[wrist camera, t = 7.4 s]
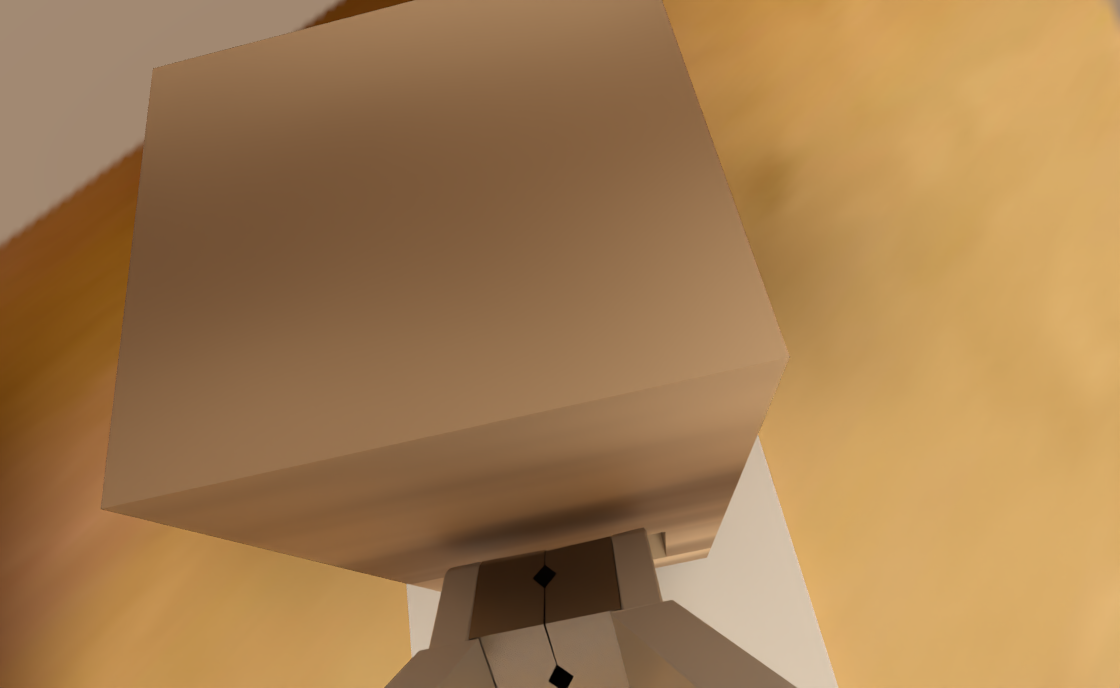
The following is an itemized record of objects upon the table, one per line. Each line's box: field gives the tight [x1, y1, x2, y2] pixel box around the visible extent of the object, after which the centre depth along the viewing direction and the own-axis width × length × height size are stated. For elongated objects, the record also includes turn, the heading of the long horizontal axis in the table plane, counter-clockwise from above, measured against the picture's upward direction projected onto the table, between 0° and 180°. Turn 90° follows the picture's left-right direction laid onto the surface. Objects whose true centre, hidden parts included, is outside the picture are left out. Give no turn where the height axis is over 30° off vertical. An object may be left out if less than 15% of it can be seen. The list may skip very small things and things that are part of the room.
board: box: [406, 435, 838, 688], centre depth 17 cm, size 28×10×1 cm, turn 10°
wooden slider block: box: [101, 0, 790, 592], centre depth 12 cm, size 5×6×13 cm
